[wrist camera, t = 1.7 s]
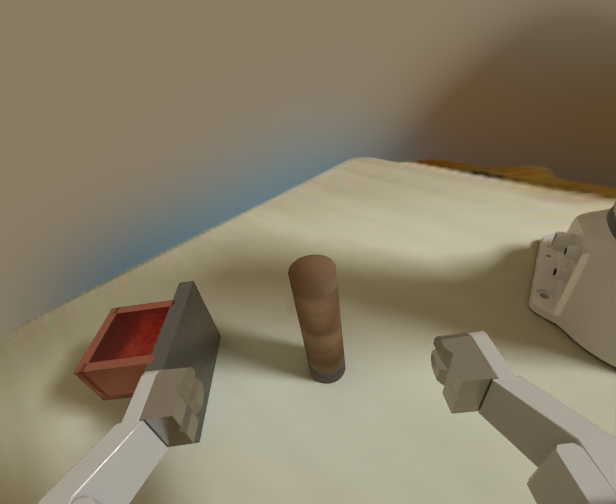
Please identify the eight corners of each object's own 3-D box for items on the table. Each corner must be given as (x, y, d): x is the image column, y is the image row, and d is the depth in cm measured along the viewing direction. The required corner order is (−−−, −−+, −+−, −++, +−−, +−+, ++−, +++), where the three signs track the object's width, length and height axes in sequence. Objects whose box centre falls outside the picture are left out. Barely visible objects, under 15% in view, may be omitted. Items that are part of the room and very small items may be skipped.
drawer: (199, 442, 28) (155, 390, 23) (119, 451, 29) (55, 403, 23) (220, 336, 38) (193, 280, 32) (160, 344, 38) (122, 290, 32)
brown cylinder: (317, 347, 35) (300, 251, 26) (349, 356, 33) (341, 258, 25) (304, 376, 32) (280, 280, 24) (338, 388, 31) (325, 290, 22)
